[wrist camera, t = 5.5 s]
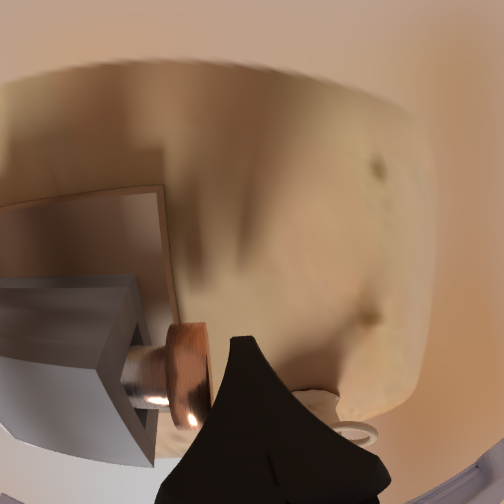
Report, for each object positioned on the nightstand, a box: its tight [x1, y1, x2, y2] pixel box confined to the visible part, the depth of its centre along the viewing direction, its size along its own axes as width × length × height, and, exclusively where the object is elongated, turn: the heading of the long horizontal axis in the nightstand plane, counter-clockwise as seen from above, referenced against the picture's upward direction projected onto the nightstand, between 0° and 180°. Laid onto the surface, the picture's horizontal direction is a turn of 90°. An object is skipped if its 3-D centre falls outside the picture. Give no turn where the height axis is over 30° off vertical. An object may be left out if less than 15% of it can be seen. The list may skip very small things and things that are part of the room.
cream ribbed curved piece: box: [291, 390, 378, 447], centre depth 15 cm, size 4×8×5 cm, turn 122°
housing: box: [0, 185, 180, 468], centre depth 9 cm, size 10×12×6 cm
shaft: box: [120, 322, 214, 431], centre depth 9 cm, size 11×4×4 cm, turn 89°
